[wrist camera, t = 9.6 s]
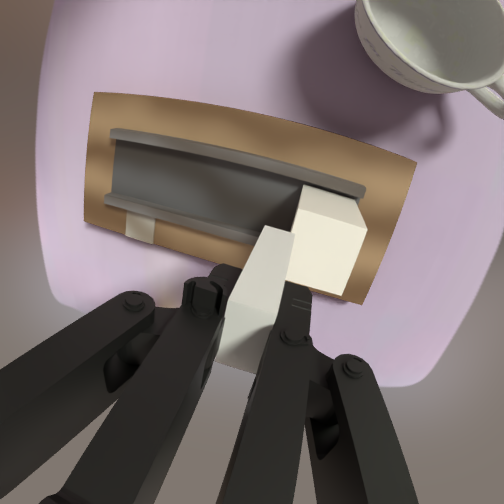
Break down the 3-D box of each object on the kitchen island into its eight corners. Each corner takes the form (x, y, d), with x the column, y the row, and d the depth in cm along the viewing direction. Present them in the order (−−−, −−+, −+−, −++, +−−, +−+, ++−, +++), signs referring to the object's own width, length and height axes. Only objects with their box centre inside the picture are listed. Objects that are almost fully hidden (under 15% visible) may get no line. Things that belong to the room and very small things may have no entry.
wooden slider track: (106, 92, 25) (85, 92, 22) (410, 159, 22) (421, 164, 20) (95, 215, 31) (76, 225, 28) (359, 293, 28) (363, 312, 25)
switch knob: (303, 184, 23) (298, 208, 17) (354, 199, 23) (367, 229, 16) (288, 237, 25) (277, 277, 19) (336, 251, 24) (341, 295, 18)
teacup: (321, 15, 19) (322, -26, 12) (415, -32, 15) (442, -72, 8) (422, 153, 22) (462, 168, 15) (505, 98, 18) (559, 99, 11)
